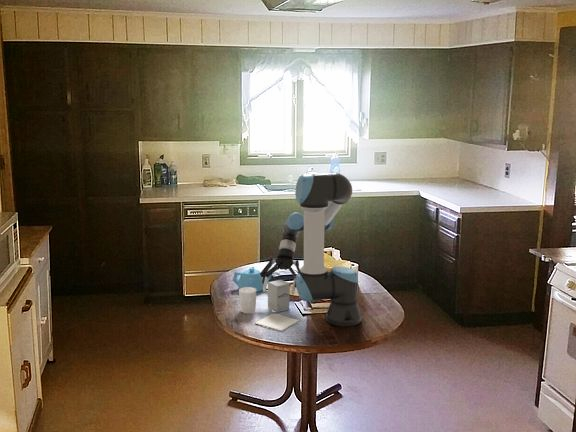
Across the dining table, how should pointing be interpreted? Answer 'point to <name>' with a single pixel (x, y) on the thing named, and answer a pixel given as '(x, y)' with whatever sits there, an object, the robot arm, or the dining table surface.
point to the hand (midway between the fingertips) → (278, 292)
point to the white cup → (247, 299)
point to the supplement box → (278, 295)
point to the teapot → (250, 279)
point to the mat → (277, 322)
